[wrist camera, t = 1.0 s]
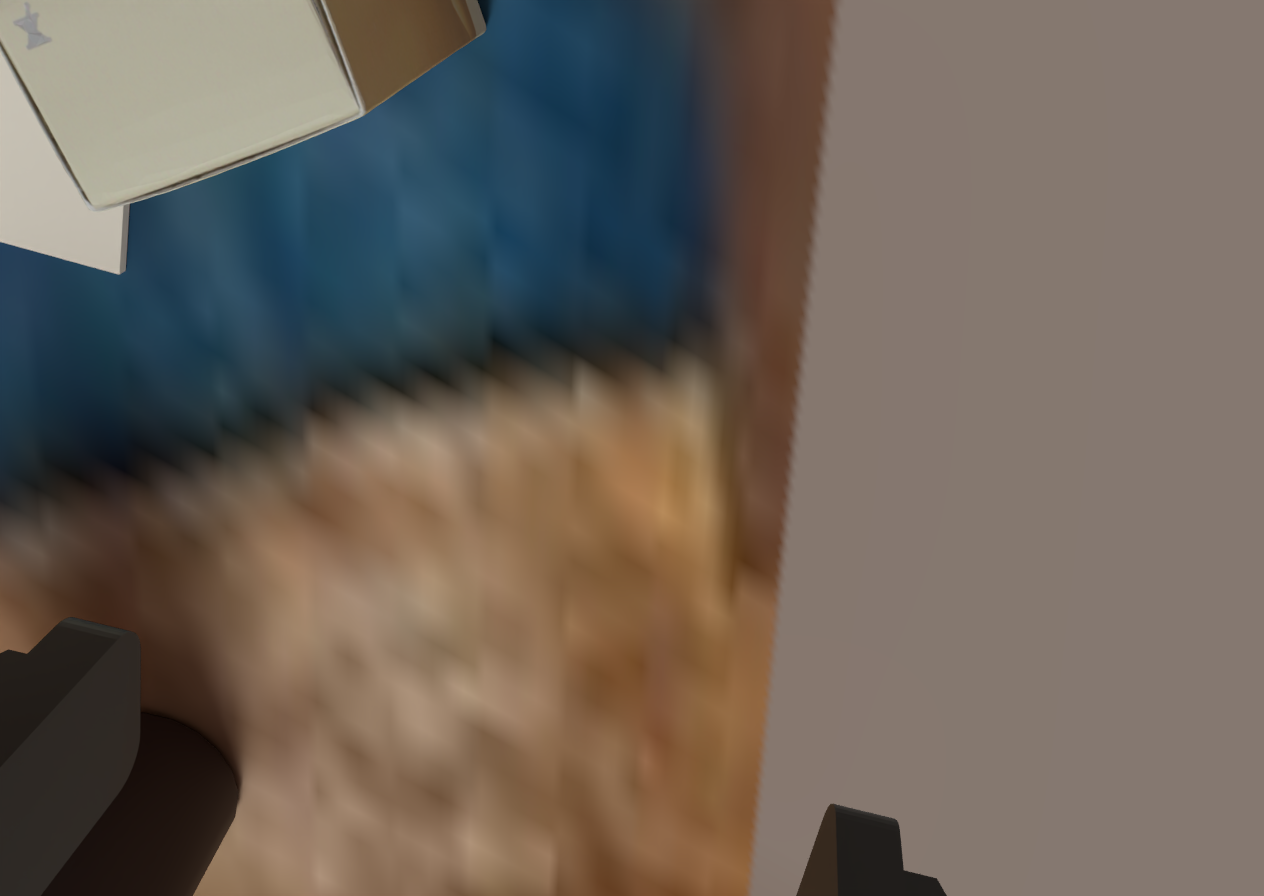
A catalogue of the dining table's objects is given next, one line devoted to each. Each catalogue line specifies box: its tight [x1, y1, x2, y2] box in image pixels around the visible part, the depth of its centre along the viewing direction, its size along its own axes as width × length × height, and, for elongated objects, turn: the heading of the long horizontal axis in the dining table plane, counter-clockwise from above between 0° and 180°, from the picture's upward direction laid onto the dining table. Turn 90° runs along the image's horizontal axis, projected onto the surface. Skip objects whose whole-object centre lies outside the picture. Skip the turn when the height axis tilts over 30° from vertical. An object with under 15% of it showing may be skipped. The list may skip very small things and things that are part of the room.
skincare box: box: [0, 0, 486, 212], centre depth 27 cm, size 6×4×12 cm
